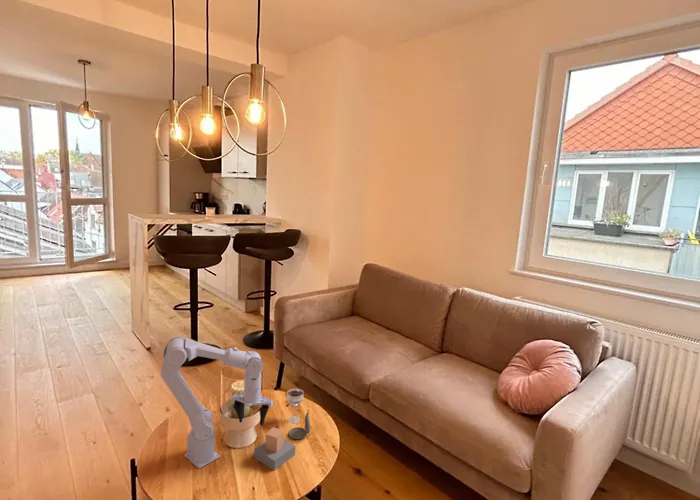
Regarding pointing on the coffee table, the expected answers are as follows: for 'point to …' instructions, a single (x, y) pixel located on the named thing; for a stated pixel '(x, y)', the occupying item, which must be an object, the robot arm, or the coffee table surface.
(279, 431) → the terracotta block
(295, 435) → the pocket watch
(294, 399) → the wineglass
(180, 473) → the coffee table surface
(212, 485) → the coffee table surface
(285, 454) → the slate slab
